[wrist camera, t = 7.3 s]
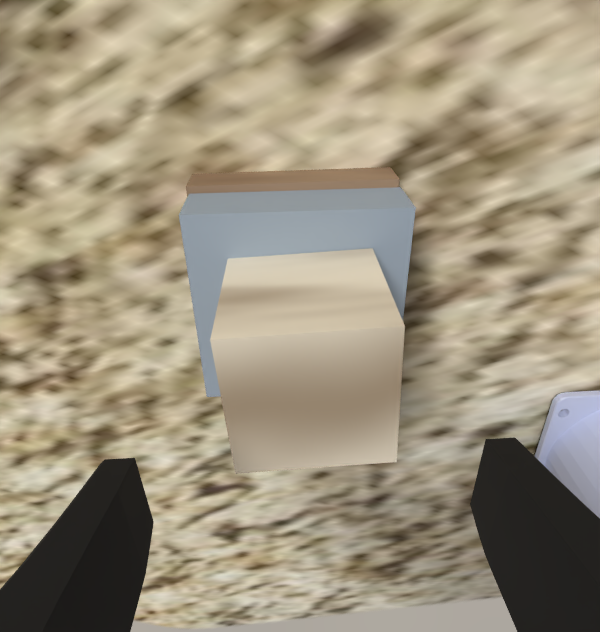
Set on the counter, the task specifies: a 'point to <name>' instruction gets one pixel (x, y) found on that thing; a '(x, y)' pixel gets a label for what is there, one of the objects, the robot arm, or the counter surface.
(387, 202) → the slate slab
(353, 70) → the counter surface
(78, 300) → the counter surface
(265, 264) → the birch block
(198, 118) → the counter surface
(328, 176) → the walnut slab
